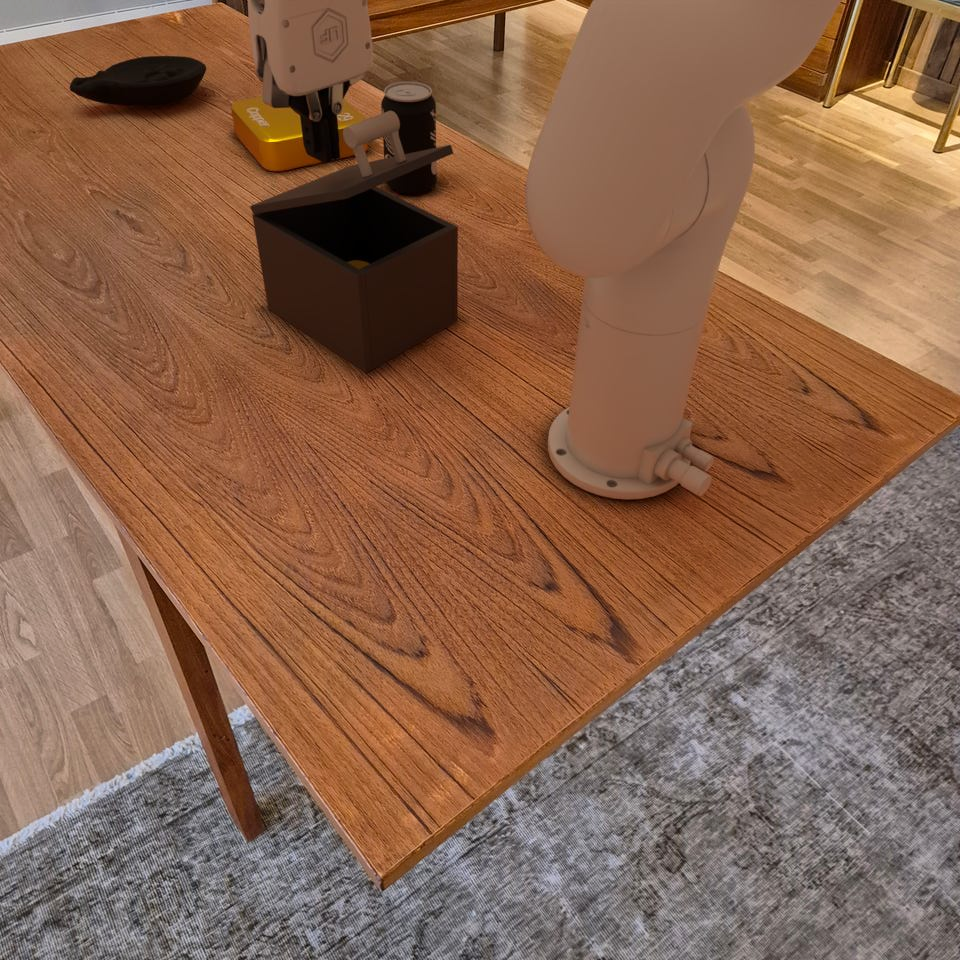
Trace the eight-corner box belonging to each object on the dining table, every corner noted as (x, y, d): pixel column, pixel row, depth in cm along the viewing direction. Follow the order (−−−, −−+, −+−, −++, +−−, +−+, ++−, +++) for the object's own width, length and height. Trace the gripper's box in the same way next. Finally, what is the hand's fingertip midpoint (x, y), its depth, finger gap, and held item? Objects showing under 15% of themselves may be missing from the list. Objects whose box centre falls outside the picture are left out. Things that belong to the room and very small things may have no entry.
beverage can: (430, 200, 112) (428, 103, 103) (379, 194, 113) (373, 97, 104) (442, 177, 116) (441, 82, 108) (393, 171, 117) (388, 77, 109)
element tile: (231, 132, 125) (225, 97, 122) (330, 113, 130) (327, 79, 127) (268, 175, 116) (262, 139, 112) (373, 152, 121) (371, 117, 118)
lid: (453, 153, 80) (436, 94, 78) (347, 198, 74) (324, 136, 72) (352, 173, 93) (334, 123, 90) (252, 214, 86) (231, 160, 84)
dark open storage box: (457, 321, 93) (458, 226, 85) (366, 373, 86) (357, 275, 78) (359, 265, 100) (351, 173, 93) (268, 309, 94) (251, 214, 86)
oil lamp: (65, 96, 133) (55, 62, 129) (193, 74, 140) (187, 41, 137) (89, 133, 124) (78, 97, 120) (225, 108, 131) (218, 73, 128)
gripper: (249, -40, 65) (283, 195, 78) (399, -73, 73) (408, 145, 86) (192, -59, 69) (233, 168, 82) (340, -89, 77) (357, 122, 90)
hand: (323, 156), depth 84 cm, fingers closed
